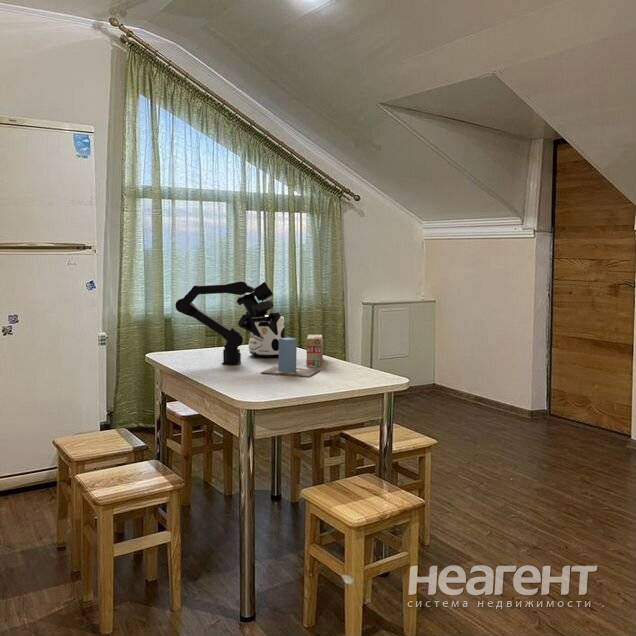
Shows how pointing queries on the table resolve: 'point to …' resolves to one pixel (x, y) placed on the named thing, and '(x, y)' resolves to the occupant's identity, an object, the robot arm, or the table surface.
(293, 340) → the blue pillar
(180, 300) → the robot arm
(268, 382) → the table surface
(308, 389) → the table surface
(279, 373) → the letter board
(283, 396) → the table surface
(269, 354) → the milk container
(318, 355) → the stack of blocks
